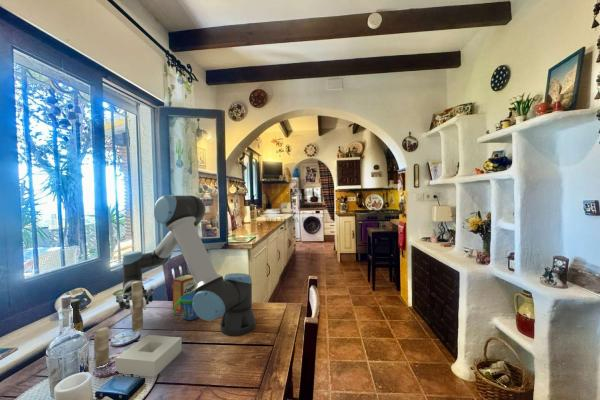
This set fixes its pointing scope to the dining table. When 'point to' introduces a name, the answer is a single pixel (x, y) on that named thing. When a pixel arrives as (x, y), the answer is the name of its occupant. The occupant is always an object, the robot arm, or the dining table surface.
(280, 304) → the dining table surface
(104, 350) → the medium dowel
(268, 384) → the dining table surface
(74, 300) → the sauce bottle
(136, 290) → the tall dowel
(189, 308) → the snack cup
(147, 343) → the hole block
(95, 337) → the short dowel
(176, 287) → the baking soda box
